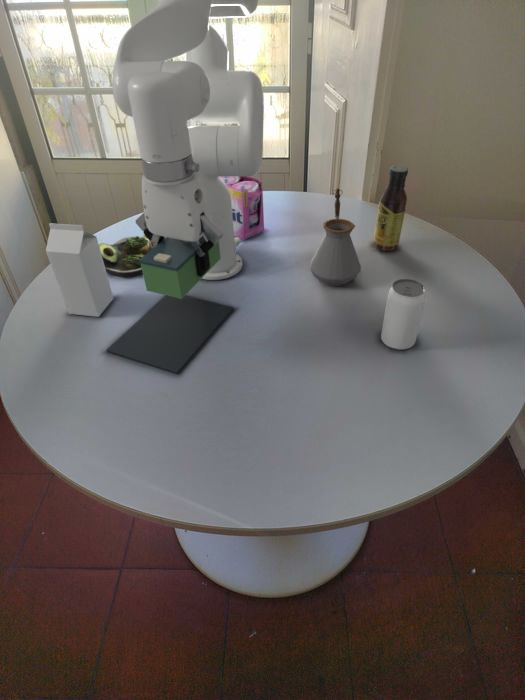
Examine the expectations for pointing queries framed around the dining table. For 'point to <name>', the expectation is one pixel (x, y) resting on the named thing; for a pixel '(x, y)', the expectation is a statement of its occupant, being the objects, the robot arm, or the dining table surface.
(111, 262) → the salad plate
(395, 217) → the sauce bottle
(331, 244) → the coffee pot
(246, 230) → the gum box
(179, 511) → the dining table surface
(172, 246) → the box
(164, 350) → the placemat
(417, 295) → the can
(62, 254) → the milk carton
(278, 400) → the dining table surface
